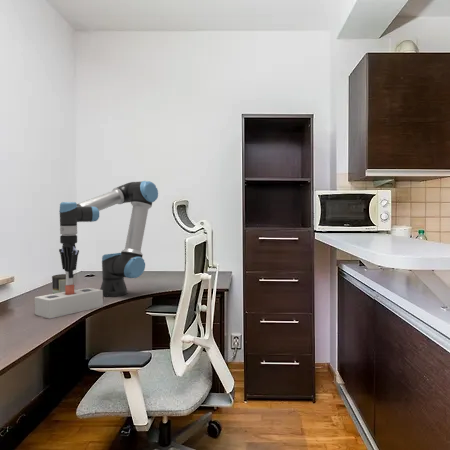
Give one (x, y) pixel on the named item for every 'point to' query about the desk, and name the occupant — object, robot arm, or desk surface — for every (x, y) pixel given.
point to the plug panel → (68, 303)
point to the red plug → (69, 289)
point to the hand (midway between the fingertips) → (69, 284)
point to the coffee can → (59, 283)
